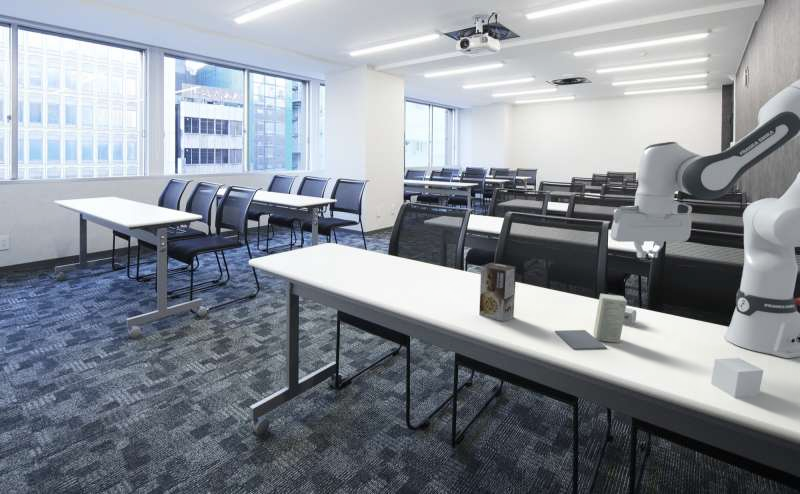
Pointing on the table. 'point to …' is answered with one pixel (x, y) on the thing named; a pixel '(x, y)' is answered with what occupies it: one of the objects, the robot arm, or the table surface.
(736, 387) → the light grey cube
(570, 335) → the rubber mat
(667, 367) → the table surface
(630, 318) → the usb wall charger
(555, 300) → the table surface
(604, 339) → the skincare box
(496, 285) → the coffee box
